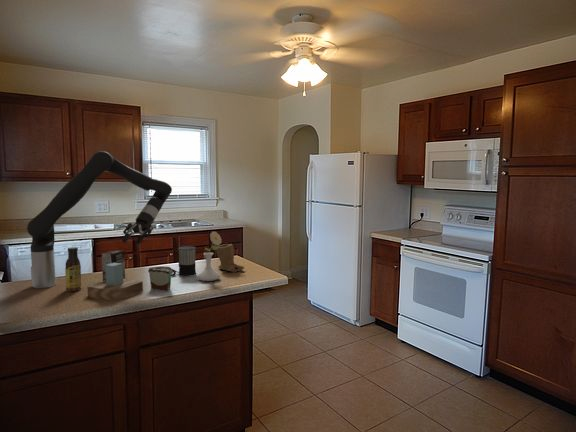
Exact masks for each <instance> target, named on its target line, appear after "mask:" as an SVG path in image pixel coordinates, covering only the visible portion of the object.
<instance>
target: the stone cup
mask: <svg viewBox="0 0 576 432" xmlns="http://www.w3.org/2000/svg"><path fill="white" fill-rule="evenodd" d="M216 246H217V247H218V249H217V250H215V251H216V255H217V256H218V260H219V262H220V265H218V266H217V267H218V269H220V270H223V271H228V272H232V273H237V271H238V272H240V271H243V270H244V269H245V267H244V266H243V265H239V264H236V263H235V262H234V259H235V248H234V245H233V244H232V243H230V244H229V243H224V244H220V245H216Z"/></svg>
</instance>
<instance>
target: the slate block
mask: <svg viewBox="0 0 576 432" xmlns="http://www.w3.org/2000/svg"><path fill="white" fill-rule="evenodd" d="M105 269H106V285H111V286H116V285H119V284H122V283H123V264H122V263H111V264H107V265H105Z"/></svg>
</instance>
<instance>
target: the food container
mask: <svg viewBox="0 0 576 432" xmlns="http://www.w3.org/2000/svg"><path fill="white" fill-rule="evenodd" d="M172 269H173V268H172V267H170V266H152V267H149V268H148V270H147V272H148V274H149V281H150V290H155V291H163V292H170V291H171V284H172V282H171V281H172V276H171V274H173V271H172Z"/></svg>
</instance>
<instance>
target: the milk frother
mask: <svg viewBox="0 0 576 432" xmlns="http://www.w3.org/2000/svg"><path fill="white" fill-rule="evenodd" d="M196 248H197V247H196V246H192V245H185V246H179V247H178V250H177V257H178V258H177V259H178V271H177V270H175V269H173V268H171V269H172V271H173V273H172V274H171V277H175V276H176V274H178V276H181V277H191V276H195V275H196V274H197V272H196V271H197V270H196V269H197V268H196Z"/></svg>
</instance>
